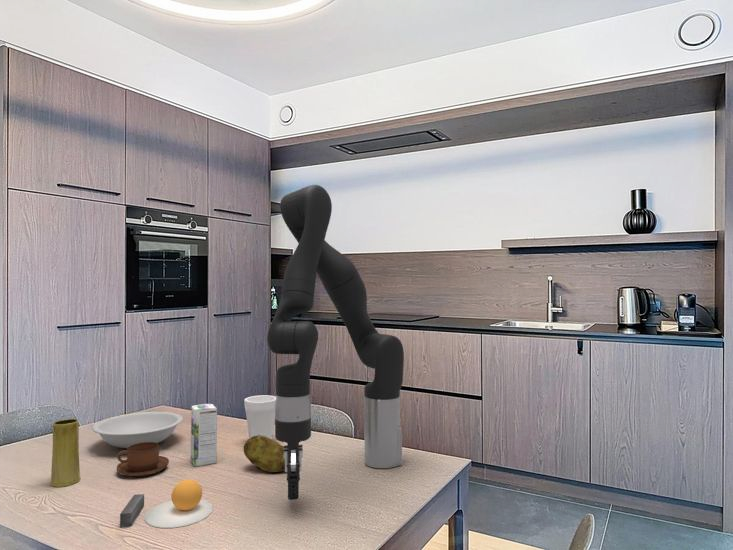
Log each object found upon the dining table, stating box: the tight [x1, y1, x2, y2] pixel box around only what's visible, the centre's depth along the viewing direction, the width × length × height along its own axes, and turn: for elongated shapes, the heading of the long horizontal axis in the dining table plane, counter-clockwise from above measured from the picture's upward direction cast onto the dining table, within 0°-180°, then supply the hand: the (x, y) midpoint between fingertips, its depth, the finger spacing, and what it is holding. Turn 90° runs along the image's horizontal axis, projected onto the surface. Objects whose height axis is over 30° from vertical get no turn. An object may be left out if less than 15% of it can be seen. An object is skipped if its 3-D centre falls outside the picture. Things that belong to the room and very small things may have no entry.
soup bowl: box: [91, 411, 184, 449], centre depth 149 cm, size 24×24×7 cm
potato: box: [243, 435, 288, 473], centre depth 129 cm, size 8×13×8 cm, turn 60°
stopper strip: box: [119, 493, 145, 528], centre depth 103 cm, size 2×9×2 cm, turn 9°
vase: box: [49, 418, 81, 488], centre depth 121 cm, size 6×6×14 cm
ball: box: [171, 478, 203, 511], centre depth 106 cm, size 6×6×6 cm
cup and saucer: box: [116, 442, 170, 477], centre depth 128 cm, size 12×12×6 cm
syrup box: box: [190, 403, 218, 468], centre depth 134 cm, size 6×6×14 cm
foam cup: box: [243, 394, 276, 440], centre depth 149 cm, size 10×9×13 cm
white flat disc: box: [144, 499, 213, 529], centre depth 105 cm, size 13×13×1 cm
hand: (293, 498), depth 108 cm, fingers closed
